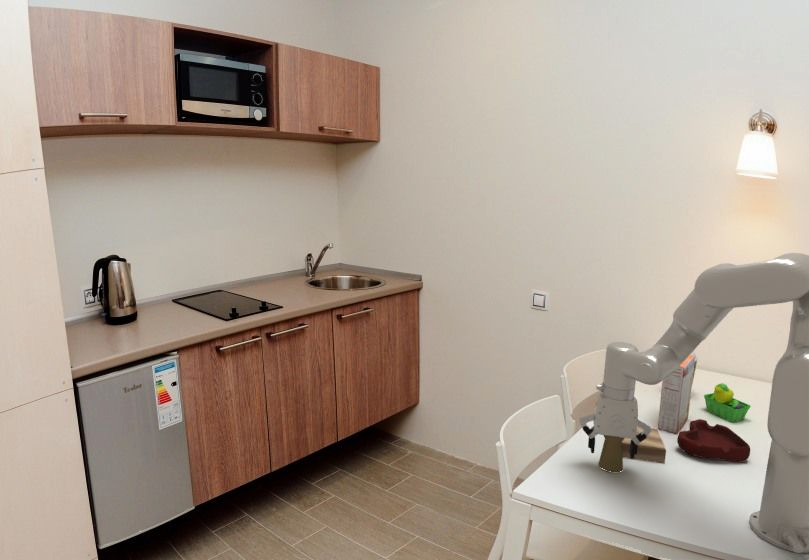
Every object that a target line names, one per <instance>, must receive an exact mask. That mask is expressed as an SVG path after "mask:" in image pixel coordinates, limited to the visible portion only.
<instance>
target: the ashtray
mask: <svg viewBox="0 0 809 560" xmlns="http://www.w3.org/2000/svg"><path fill="white" fill-rule="evenodd" d="M676 439H677V440H676V441H677V442H676V443H677V446H678V447H679V448H680V449H681V450H682V451H683V452H684V453H685V454H686V453H687V454H686V455H689V456H696V457H698V458H703V459H709V460H710V459H711V460H722V461H729V462H736V463H737V462H740V463H741V462H746V461H747V460H748V459H749V457H750V454H751V447H750V445H749V443H747V441H745V440H744V439H743V438H742V437H740V436H739V435H738V434H737V433H735V431H733V430H732V429H730V428H729V427H728V426H725V425H723V424H718V423H716V424H715V425H710V424H709V423H708V421H707V420H705V419H701V418H700V419H696V420H690V422H689V430H680V431H679V432H678V434H677V438H676Z"/></svg>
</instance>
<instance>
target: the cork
mask: <svg viewBox="0 0 809 560" xmlns="http://www.w3.org/2000/svg"><path fill="white" fill-rule="evenodd" d="M603 437H604V441H603V444H602V449H601V453H600V457H599V460H598V467H599V466H600V467H601V468H603V469H605V470H607V471H611V472H620V471H622V470H623V471H624V463H623V462H624V460H623V458H624V457H623V455H622V441H623V440H624V438H620V437H614V436H606V435H603ZM600 467H599V468H600ZM601 468H600V469H601ZM603 469H602V470H603ZM605 470H604V471H605ZM607 471H606V472H607ZM623 471H622V472H623ZM611 472H610V473H611ZM620 473H621V472H620Z"/></svg>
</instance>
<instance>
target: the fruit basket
mask: <svg viewBox="0 0 809 560" xmlns="http://www.w3.org/2000/svg"><path fill="white" fill-rule="evenodd" d="M713 391H714V392H713V393H708V394H707V393H706V394H704V395H703V397H704V400H705V401H704V402H705V407H706V411H707V412H709V413H711V412H712V414H714V415H715V416H717V415H718V416H717V417H720V418H721V419H724V420H726V421H728V422H730V421H731V422H730V423H733V422H734V421H736V422H740V421H744V419H745V417H746V416H747V413H748V412H749V410H750V408H751V407H752V406H751V404H748V403H746V402H743V401H741V400H739V399H736V398H734V395H735V393H734V391H733V390H732V389H731V388H730V387H728V386H727V384H726V383H723V382H721V383H718V384H716V385H715V386H714V390H713ZM739 420H740V421H739Z"/></svg>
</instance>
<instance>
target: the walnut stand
mask: <svg viewBox="0 0 809 560" xmlns="http://www.w3.org/2000/svg"><path fill="white" fill-rule="evenodd" d="M651 430H652V431H651V432H650V434H649V435H648V436H647V438H646V439H645V440H643V441H642V442H640V444H639V445H638V449H637V455H635V454H634V459H633V460H640V461H647V460H648V461H649V462H654V461H656V462H655V463H661V462H663V463H664V464H665V462H666V454H667V449H666V447H665V444H664V441H663V439H662V437H661V434H660V432H659V429H658V428H651ZM641 432H643V429H641V428H640V427H638V426H637V435H638V434H640V433H641ZM631 440H632V439H631V438H624V440H623V441H622V455H623V458H625V457H626V459H632V458H631V457H630V453H629V451H630V442H631ZM648 461H647V462H648Z"/></svg>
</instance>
